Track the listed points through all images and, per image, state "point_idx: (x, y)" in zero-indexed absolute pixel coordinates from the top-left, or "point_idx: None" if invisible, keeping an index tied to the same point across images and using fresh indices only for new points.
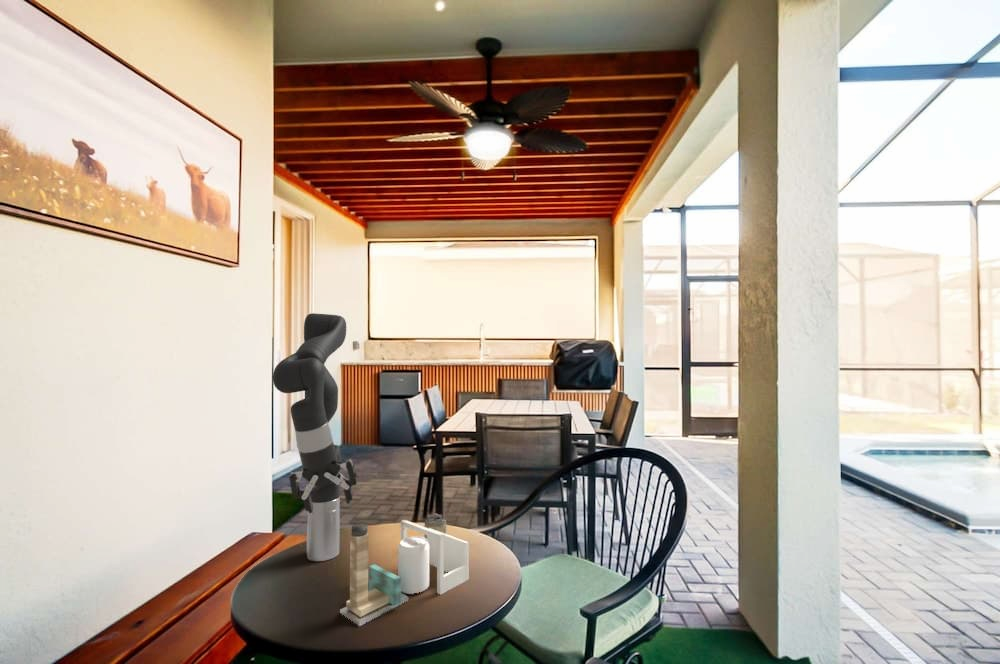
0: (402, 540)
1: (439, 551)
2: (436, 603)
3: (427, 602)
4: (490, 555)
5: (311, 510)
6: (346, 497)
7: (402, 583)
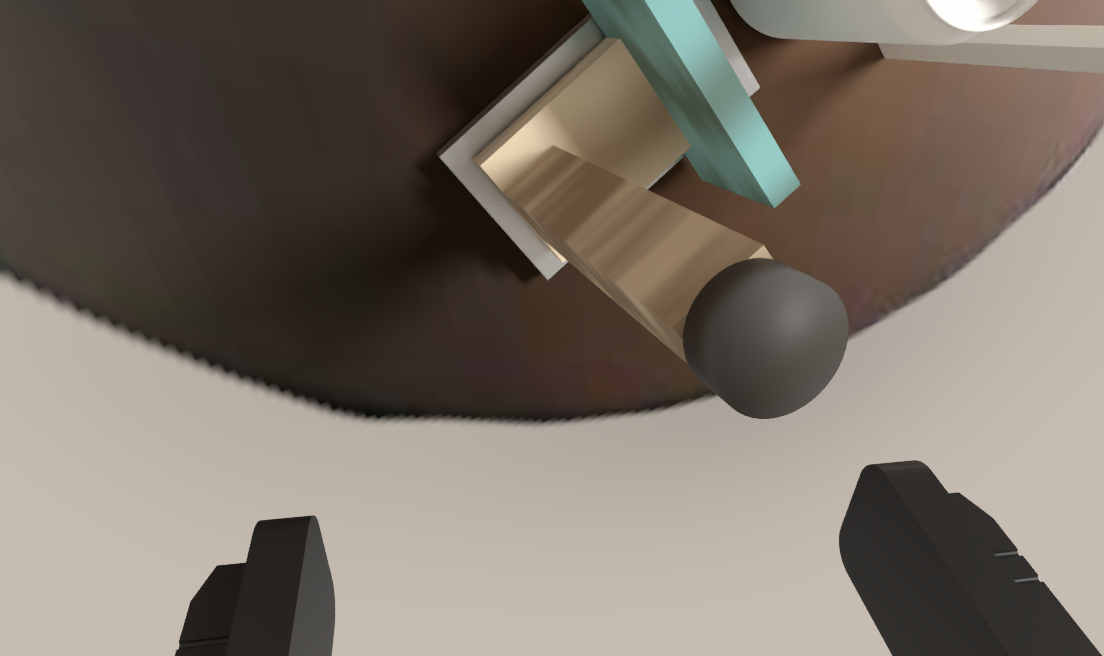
0: None
1: (1074, 65)
2: (854, 131)
3: (822, 115)
4: None
5: (329, 643)
6: (905, 651)
7: (761, 10)
